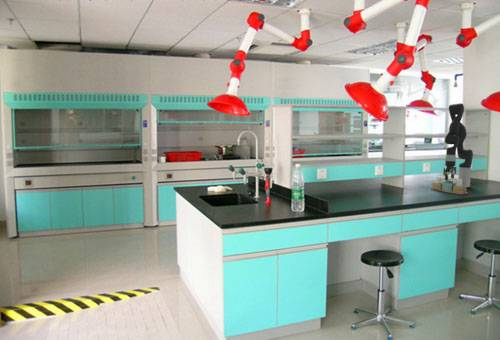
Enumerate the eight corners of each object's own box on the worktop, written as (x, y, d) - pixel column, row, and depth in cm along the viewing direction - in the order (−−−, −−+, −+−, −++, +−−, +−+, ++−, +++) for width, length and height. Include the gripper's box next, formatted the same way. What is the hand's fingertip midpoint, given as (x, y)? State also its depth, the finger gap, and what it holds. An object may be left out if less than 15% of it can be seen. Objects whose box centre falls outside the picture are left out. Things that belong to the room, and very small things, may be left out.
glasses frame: (438, 182, 359) (439, 176, 358) (461, 185, 342) (462, 179, 341) (436, 182, 357) (437, 176, 356) (459, 186, 340) (460, 179, 340)
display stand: (436, 188, 364) (437, 178, 362) (467, 193, 341) (468, 182, 340) (430, 189, 359) (431, 178, 358) (461, 194, 337) (462, 183, 336)
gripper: (451, 159, 354) (450, 178, 356) (441, 160, 346) (439, 179, 348) (459, 160, 348) (458, 179, 350) (449, 161, 340) (448, 181, 342)
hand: (449, 179), depth 349 cm, fingers open, 8 cm apart
